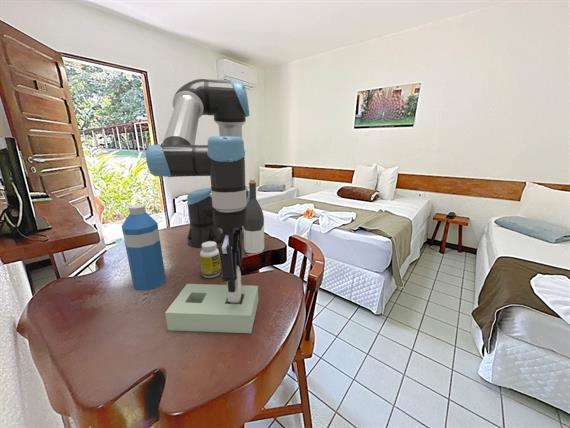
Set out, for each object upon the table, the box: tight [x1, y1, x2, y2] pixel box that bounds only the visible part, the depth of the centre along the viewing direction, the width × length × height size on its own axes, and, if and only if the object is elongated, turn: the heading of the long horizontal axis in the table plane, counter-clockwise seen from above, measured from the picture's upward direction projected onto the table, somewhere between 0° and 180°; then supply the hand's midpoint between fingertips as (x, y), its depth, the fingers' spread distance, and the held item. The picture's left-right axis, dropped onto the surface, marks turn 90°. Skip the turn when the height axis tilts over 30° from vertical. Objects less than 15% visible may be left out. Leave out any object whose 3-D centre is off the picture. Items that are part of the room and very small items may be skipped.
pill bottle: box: [199, 241, 222, 279], centre depth 81 cm, size 6×6×11 cm
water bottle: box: [121, 204, 167, 291], centre depth 74 cm, size 9×9×25 cm
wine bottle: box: [242, 178, 265, 255], centre depth 94 cm, size 8×8×30 cm
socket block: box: [164, 283, 259, 334], centre depth 63 cm, size 12×20×5 cm, turn 88°
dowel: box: [229, 266, 241, 304], centre depth 61 cm, size 3×3×12 cm
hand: (234, 297), depth 62 cm, fingers closed on dowel, 2 cm apart
